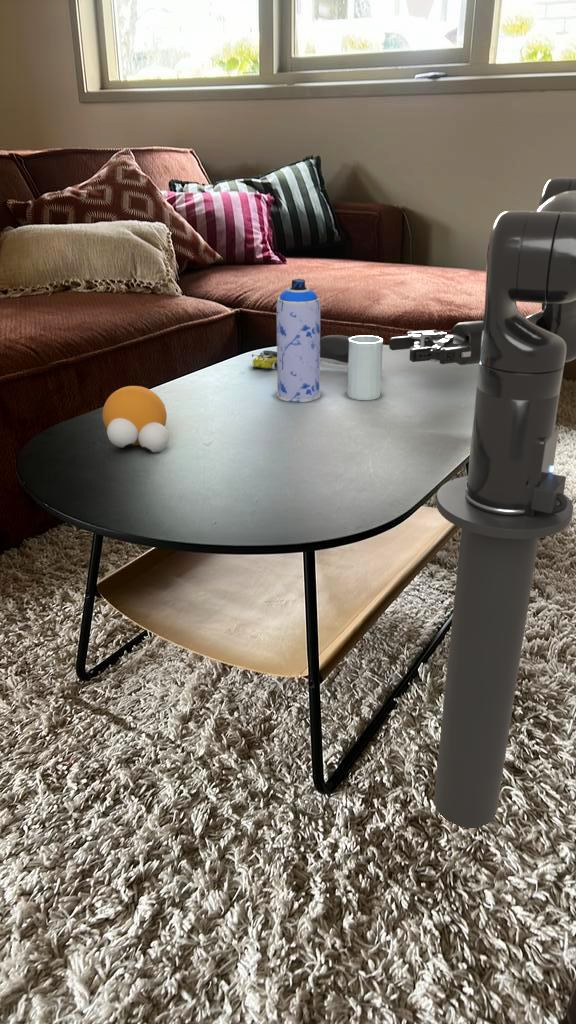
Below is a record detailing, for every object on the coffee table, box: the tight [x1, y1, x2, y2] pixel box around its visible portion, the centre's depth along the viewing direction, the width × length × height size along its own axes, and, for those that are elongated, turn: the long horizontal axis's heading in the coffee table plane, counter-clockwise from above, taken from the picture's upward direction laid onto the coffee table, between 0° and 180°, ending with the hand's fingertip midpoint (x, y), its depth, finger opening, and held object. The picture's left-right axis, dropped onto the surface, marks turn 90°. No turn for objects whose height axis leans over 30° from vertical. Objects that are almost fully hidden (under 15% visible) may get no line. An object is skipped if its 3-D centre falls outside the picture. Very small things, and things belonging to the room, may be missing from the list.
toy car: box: [251, 350, 277, 371], centre depth 155 cm, size 5×10×3 cm, turn 155°
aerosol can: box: [275, 278, 322, 403], centre depth 132 cm, size 8×8×20 cm
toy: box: [102, 385, 170, 453], centre depth 114 cm, size 9×10×15 cm
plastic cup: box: [346, 335, 384, 401], centre depth 134 cm, size 6×6×10 cm
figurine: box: [320, 334, 378, 366], centre depth 150 cm, size 7×10×15 cm
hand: (400, 349), depth 134 cm, fingers open, 8 cm apart
